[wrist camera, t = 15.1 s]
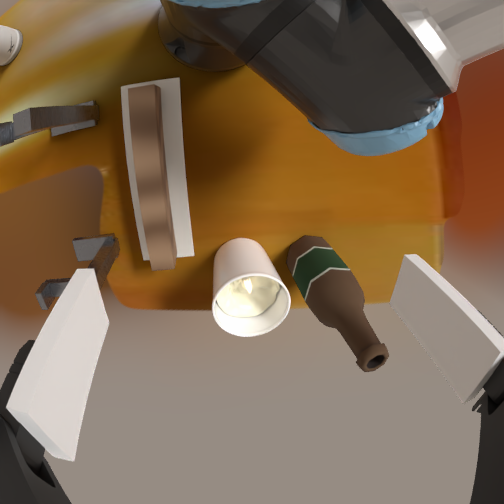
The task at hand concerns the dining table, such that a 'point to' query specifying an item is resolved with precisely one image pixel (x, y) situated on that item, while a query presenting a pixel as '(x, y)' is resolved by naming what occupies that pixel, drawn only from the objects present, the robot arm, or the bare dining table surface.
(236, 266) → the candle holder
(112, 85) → the dining table surface
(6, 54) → the travel mug
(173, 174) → the grey mat
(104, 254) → the hook rack
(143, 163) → the walnut bar
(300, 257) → the beer bottle
